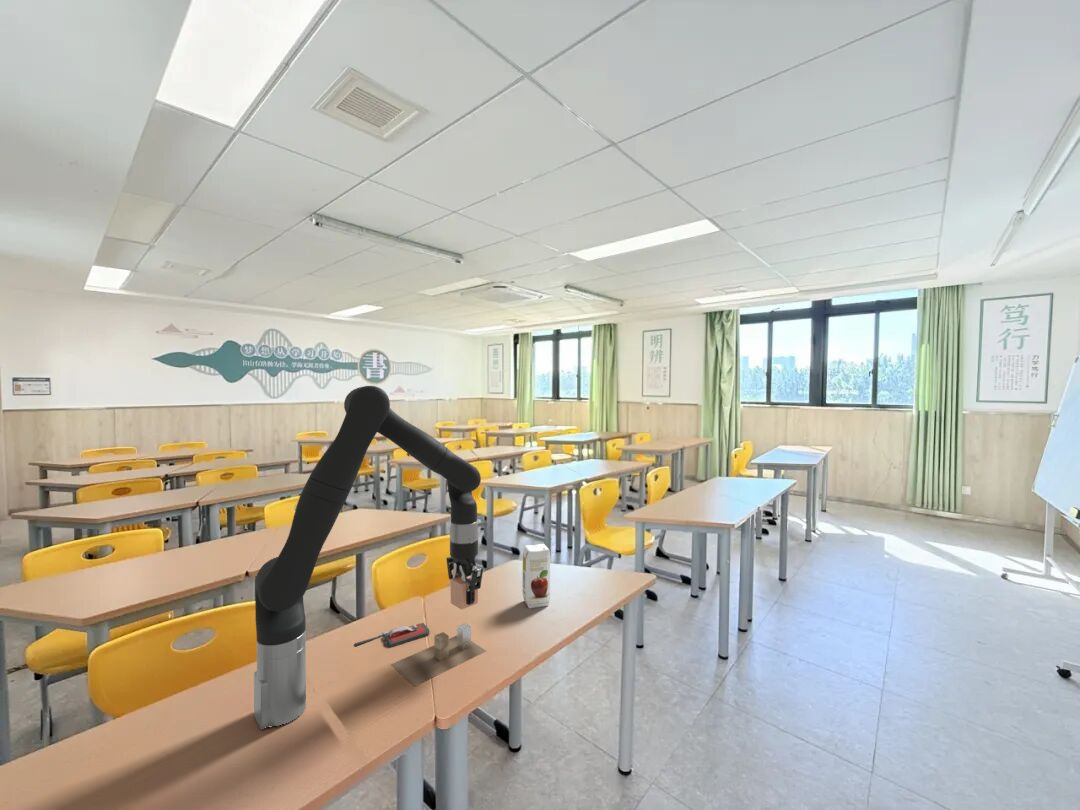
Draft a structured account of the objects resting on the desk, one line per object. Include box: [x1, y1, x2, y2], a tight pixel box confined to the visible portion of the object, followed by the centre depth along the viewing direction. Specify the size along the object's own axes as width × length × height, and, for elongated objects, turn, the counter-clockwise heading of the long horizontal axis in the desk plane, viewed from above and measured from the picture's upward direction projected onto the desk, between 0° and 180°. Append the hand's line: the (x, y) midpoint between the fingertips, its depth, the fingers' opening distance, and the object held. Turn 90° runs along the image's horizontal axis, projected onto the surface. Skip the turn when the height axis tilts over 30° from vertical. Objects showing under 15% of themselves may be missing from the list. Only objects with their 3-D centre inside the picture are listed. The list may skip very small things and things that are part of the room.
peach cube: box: [450, 576, 479, 610], centre depth 121 cm, size 5×5×7 cm
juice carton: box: [521, 543, 551, 609], centre depth 150 cm, size 8×9×19 cm
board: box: [390, 631, 487, 687], centre depth 116 cm, size 21×12×7 cm, turn 134°
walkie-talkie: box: [353, 622, 430, 648], centre depth 125 cm, size 9×4×20 cm
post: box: [456, 622, 472, 650], centre depth 121 cm, size 3×3×6 cm
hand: (464, 599), depth 121 cm, fingers closed on peach cube, 5 cm apart
